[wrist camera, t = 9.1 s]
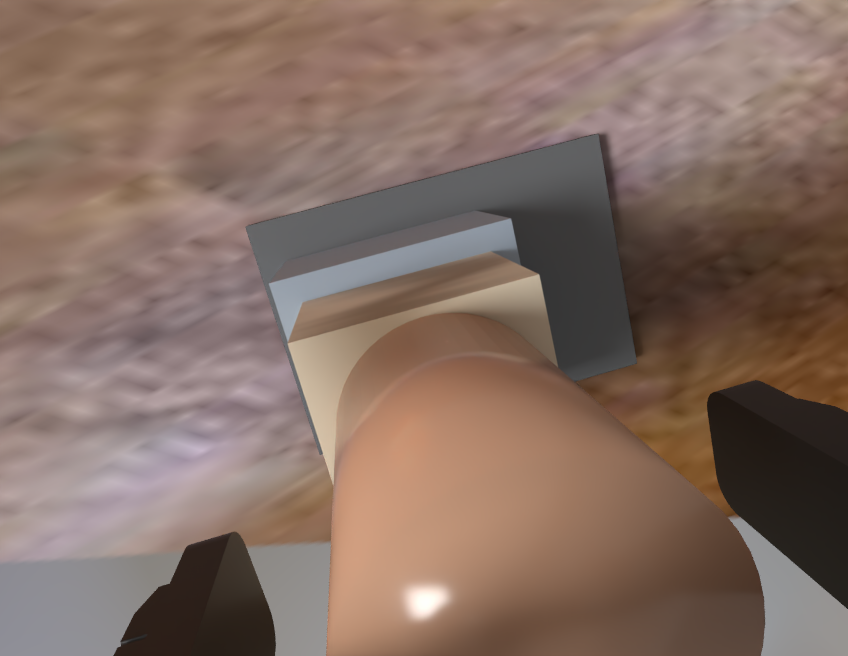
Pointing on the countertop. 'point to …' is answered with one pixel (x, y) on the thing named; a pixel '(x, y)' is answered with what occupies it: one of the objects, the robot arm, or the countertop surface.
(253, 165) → the countertop surface
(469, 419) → the peach rounded post
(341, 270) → the slate base block
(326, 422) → the maple top block
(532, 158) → the mat
